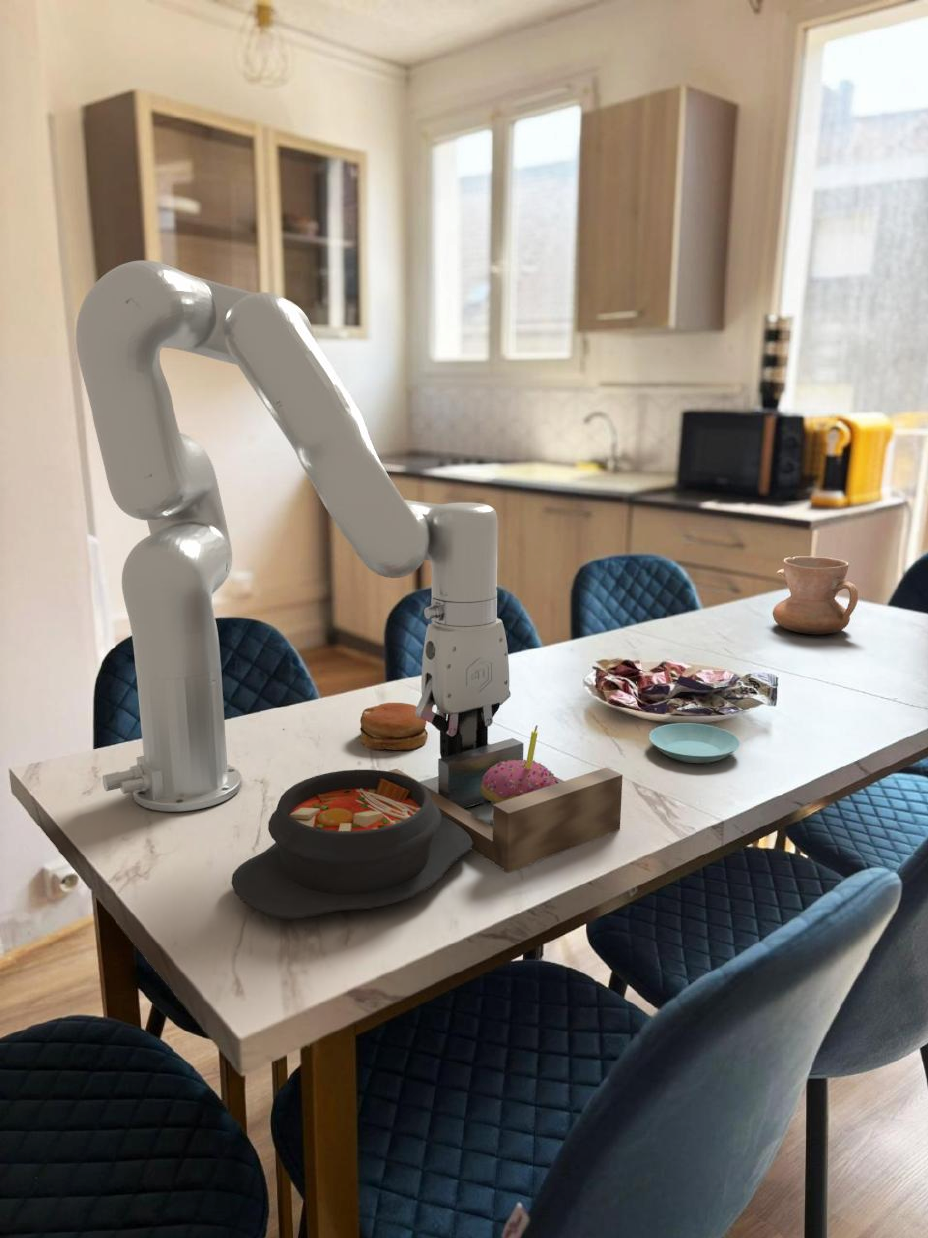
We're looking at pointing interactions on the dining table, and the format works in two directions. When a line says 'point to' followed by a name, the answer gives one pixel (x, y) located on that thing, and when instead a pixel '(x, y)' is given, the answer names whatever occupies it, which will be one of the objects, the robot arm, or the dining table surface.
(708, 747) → the saucer
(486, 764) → the ram
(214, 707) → the robot arm
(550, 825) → the press bed
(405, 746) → the burger
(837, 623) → the ceramic jug
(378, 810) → the casserole
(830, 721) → the dining table surface
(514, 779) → the cupcake
